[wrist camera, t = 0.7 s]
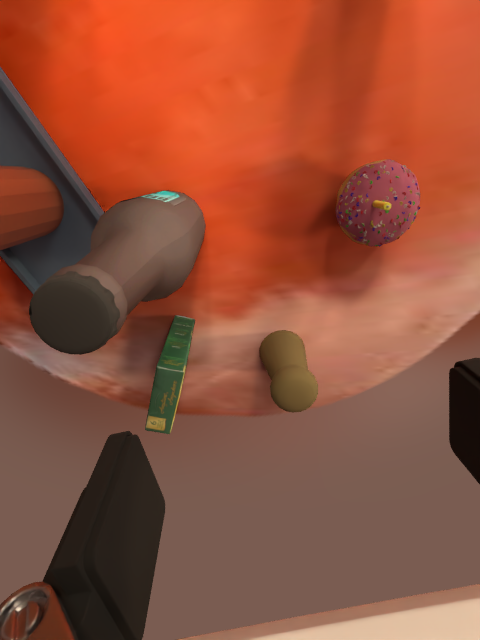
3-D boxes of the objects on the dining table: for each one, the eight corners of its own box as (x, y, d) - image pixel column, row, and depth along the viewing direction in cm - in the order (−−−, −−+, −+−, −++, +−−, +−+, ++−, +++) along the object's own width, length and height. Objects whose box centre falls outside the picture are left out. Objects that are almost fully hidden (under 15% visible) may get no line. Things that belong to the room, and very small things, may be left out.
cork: (252, 362, 49) (259, 411, 39) (270, 323, 47) (282, 364, 37) (292, 376, 50) (309, 428, 40) (312, 339, 48) (335, 383, 38)
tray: (-111, 109, 37) (-129, 106, 35) (-22, 36, 35) (-36, 28, 33) (73, 328, 46) (67, 334, 45) (152, 279, 44) (149, 284, 43)
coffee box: (184, 372, 49) (170, 437, 37) (162, 368, 49) (142, 432, 37) (196, 318, 47) (186, 370, 34) (174, 313, 46) (156, 363, 34)
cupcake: (317, 233, 43) (350, 253, 32) (335, 155, 40) (377, 147, 29) (387, 243, 44) (442, 266, 33) (409, 167, 41) (478, 164, 30)
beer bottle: (175, 174, 40) (59, 173, 12) (219, 229, 42) (205, 332, 15) (126, 218, 42) (-77, 306, 14) (171, 269, 44) (75, 431, 16)
